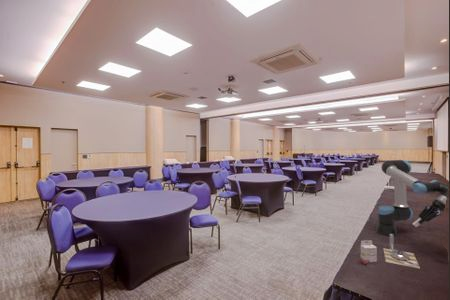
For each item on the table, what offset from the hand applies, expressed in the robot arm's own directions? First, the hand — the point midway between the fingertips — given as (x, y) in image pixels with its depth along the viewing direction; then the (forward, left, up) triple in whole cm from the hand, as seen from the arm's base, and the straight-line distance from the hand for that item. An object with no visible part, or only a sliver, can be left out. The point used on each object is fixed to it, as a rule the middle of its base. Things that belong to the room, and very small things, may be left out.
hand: (414, 225), depth 165 cm
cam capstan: (+12, -10, -20) cm, 25 cm away
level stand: (+12, -10, -22) cm, 27 cm away
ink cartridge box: (+26, -29, -22) cm, 44 cm away
